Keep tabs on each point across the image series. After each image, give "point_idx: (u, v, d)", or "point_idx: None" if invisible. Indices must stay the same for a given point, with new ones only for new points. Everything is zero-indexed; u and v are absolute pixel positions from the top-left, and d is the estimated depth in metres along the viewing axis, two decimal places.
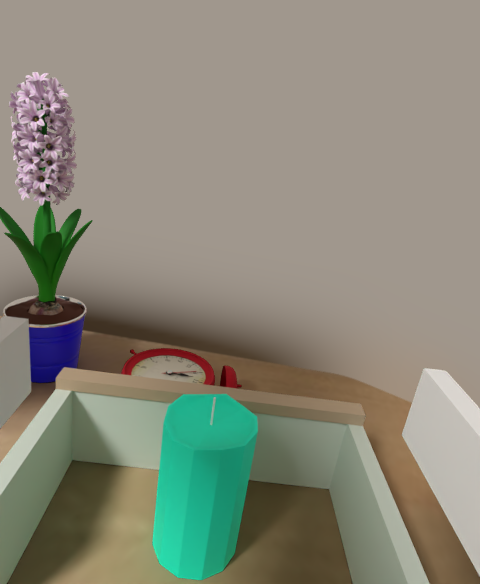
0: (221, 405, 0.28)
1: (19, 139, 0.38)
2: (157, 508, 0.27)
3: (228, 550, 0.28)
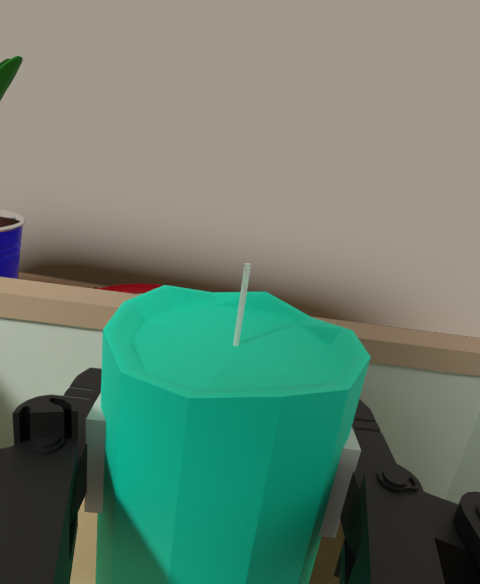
0: (256, 313, 0.12)
1: None
2: (98, 566, 0.11)
3: None
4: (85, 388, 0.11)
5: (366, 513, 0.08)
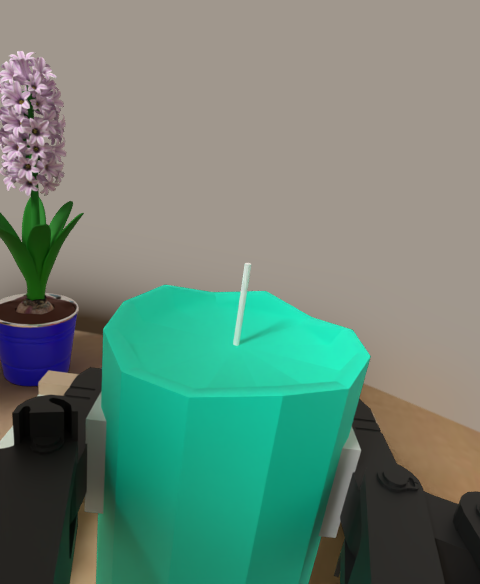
0: (256, 313, 0.12)
1: (4, 124, 0.35)
2: (99, 565, 0.11)
3: None
4: (85, 388, 0.11)
5: (366, 513, 0.08)
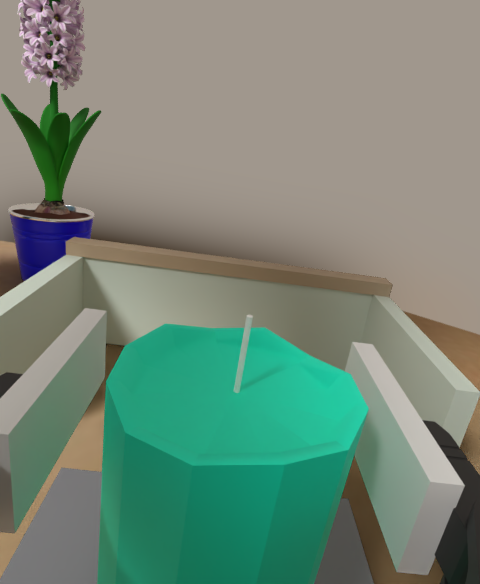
0: (255, 351, 0.12)
1: (25, 15, 0.36)
2: None
3: None
4: None
5: (475, 549, 0.08)
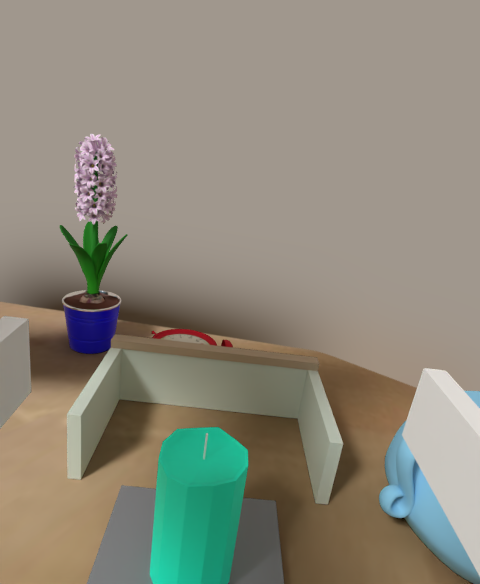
0: (213, 438, 0.30)
1: (78, 178, 0.54)
2: (154, 540, 0.28)
3: (222, 579, 0.29)
4: None
5: None
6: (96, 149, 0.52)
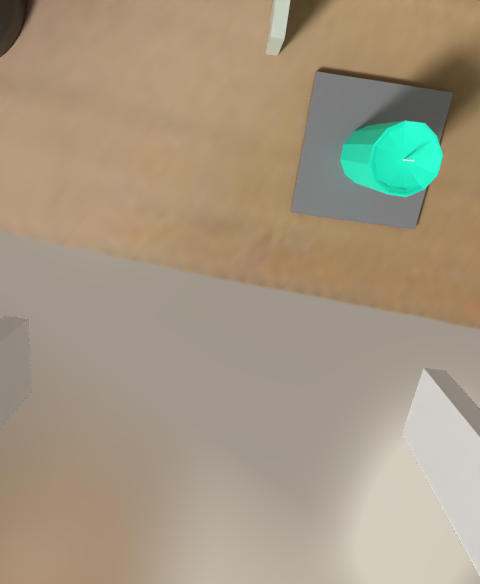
0: (417, 133, 0.34)
1: None
2: (349, 164, 0.40)
3: None
4: None
5: None
6: None
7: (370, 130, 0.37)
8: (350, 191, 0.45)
